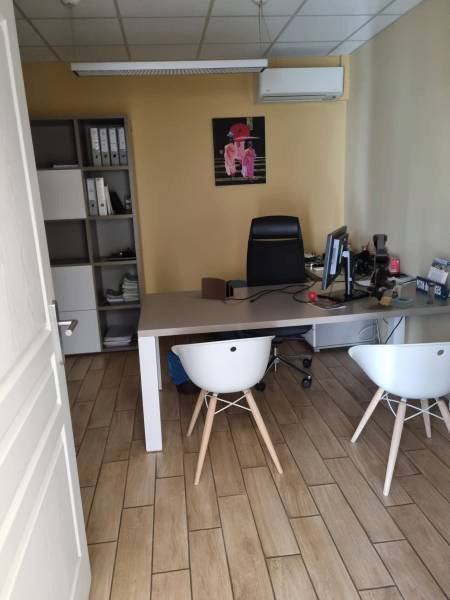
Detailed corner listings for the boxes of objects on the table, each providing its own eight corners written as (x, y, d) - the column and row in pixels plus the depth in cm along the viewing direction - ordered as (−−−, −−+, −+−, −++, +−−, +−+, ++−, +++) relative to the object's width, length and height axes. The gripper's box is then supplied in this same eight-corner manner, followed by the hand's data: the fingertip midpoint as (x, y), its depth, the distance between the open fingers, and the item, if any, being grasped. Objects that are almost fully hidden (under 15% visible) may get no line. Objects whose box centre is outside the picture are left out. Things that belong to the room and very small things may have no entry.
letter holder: (225, 300, 299) (224, 279, 295) (201, 297, 310) (200, 276, 306) (234, 297, 307) (233, 276, 303) (210, 294, 318) (209, 274, 314)
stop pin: (424, 303, 276) (426, 283, 273) (428, 301, 278) (430, 282, 276) (431, 304, 273) (433, 284, 270) (435, 303, 275) (437, 283, 272)
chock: (380, 304, 277) (380, 297, 276) (384, 303, 280) (384, 296, 279) (387, 305, 273) (388, 299, 272) (391, 304, 276) (392, 298, 275)
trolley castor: (389, 301, 283) (389, 286, 280) (394, 299, 286) (395, 284, 284) (396, 302, 279) (397, 287, 276) (402, 301, 282) (403, 285, 280)
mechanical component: (408, 298, 288) (409, 282, 285) (391, 298, 290) (392, 282, 287) (407, 297, 290) (408, 281, 288) (390, 297, 292) (391, 281, 290)
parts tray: (390, 305, 273) (391, 299, 272) (399, 303, 278) (399, 296, 277) (404, 308, 266) (405, 302, 265) (413, 305, 271) (413, 299, 270)
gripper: (383, 279, 256) (382, 306, 260) (402, 274, 267) (400, 300, 271) (366, 276, 265) (365, 303, 269) (385, 272, 276) (384, 297, 280)
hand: (379, 301), depth 272 cm, fingers closed
